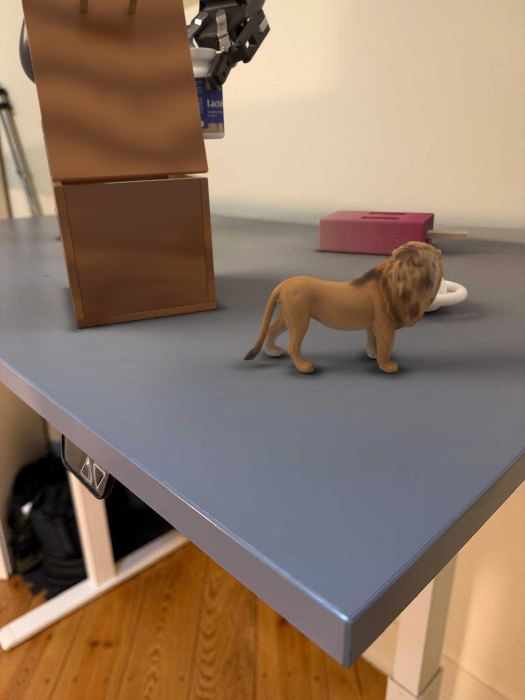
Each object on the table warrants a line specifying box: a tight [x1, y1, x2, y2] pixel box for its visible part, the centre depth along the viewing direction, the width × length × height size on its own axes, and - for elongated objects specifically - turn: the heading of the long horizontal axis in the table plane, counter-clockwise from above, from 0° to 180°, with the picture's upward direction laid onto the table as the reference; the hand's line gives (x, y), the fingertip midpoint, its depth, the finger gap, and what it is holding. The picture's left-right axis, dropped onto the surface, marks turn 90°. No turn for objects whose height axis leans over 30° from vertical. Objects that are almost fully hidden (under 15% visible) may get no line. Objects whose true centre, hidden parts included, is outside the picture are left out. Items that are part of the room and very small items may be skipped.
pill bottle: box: [190, 47, 226, 140], centre depth 66 cm, size 6×6×10 cm
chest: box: [50, 174, 217, 329], centre depth 57 cm, size 16×14×13 cm
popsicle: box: [318, 209, 469, 256], centre depth 78 cm, size 9×5×20 cm
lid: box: [20, 0, 209, 182], centre depth 45 cm, size 16×14×6 cm
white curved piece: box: [424, 276, 468, 313], centre depth 52 cm, size 8×6×8 cm
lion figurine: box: [242, 241, 444, 374], centre depth 40 cm, size 15×5×9 cm, turn 93°
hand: (190, 85), depth 64 cm, fingers closed on pill bottle, 5 cm apart
